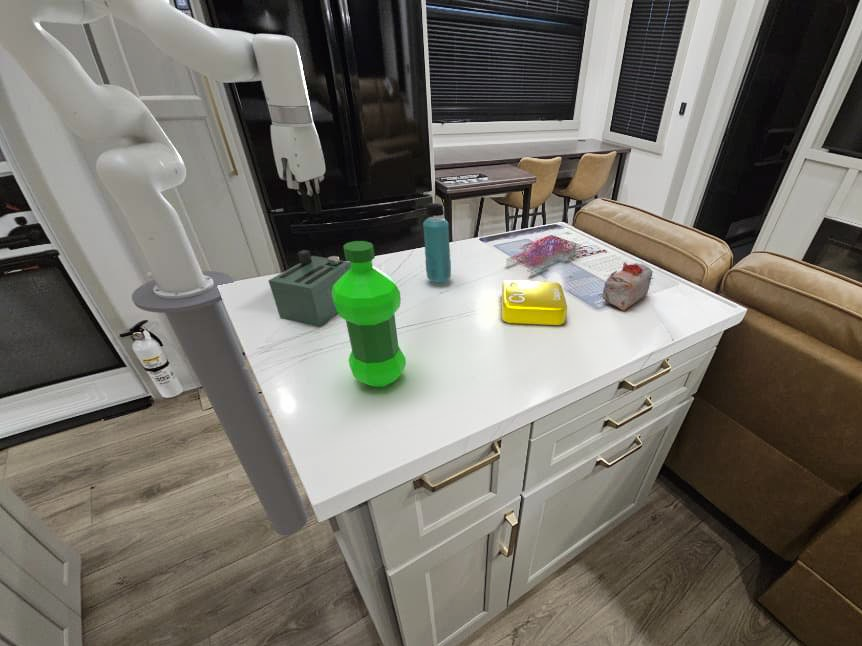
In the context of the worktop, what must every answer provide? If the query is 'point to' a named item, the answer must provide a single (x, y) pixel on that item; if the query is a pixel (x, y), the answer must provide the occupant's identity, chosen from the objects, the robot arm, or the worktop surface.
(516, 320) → the element tile
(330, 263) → the button
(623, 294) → the food item
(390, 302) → the plastic bottle
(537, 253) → the purple mottled irregular slab
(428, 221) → the beverage bottle
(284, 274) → the toaster
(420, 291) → the worktop surface
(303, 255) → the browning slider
